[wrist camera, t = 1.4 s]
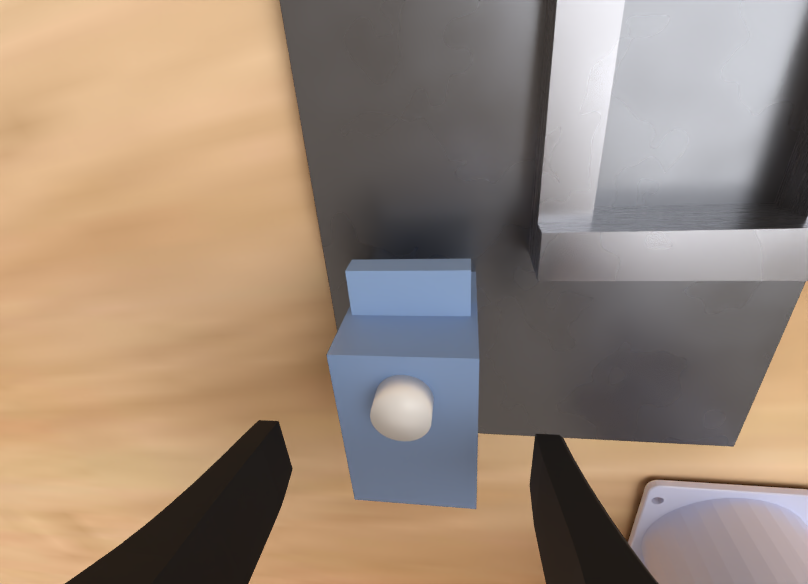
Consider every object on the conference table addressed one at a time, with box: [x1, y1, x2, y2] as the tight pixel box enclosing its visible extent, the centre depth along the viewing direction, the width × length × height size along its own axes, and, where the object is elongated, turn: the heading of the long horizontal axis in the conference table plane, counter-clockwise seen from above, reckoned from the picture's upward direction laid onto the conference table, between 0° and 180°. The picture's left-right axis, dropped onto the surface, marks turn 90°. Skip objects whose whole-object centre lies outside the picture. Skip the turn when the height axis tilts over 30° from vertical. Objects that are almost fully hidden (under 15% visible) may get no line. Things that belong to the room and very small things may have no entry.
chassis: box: [280, 0, 808, 446], centre depth 13 cm, size 20×16×3 cm
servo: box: [327, 259, 479, 509], centre depth 14 cm, size 9×4×6 cm, turn 4°
